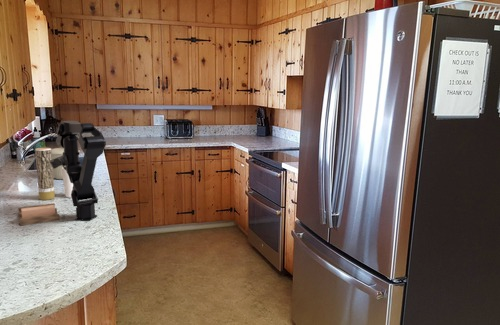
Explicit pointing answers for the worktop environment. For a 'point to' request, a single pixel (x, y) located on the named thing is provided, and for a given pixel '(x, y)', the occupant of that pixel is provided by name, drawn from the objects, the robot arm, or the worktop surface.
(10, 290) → the worktop surface
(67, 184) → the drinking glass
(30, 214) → the peach long block
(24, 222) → the brown ridged slab
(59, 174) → the canister
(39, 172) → the bark textured cylinder
